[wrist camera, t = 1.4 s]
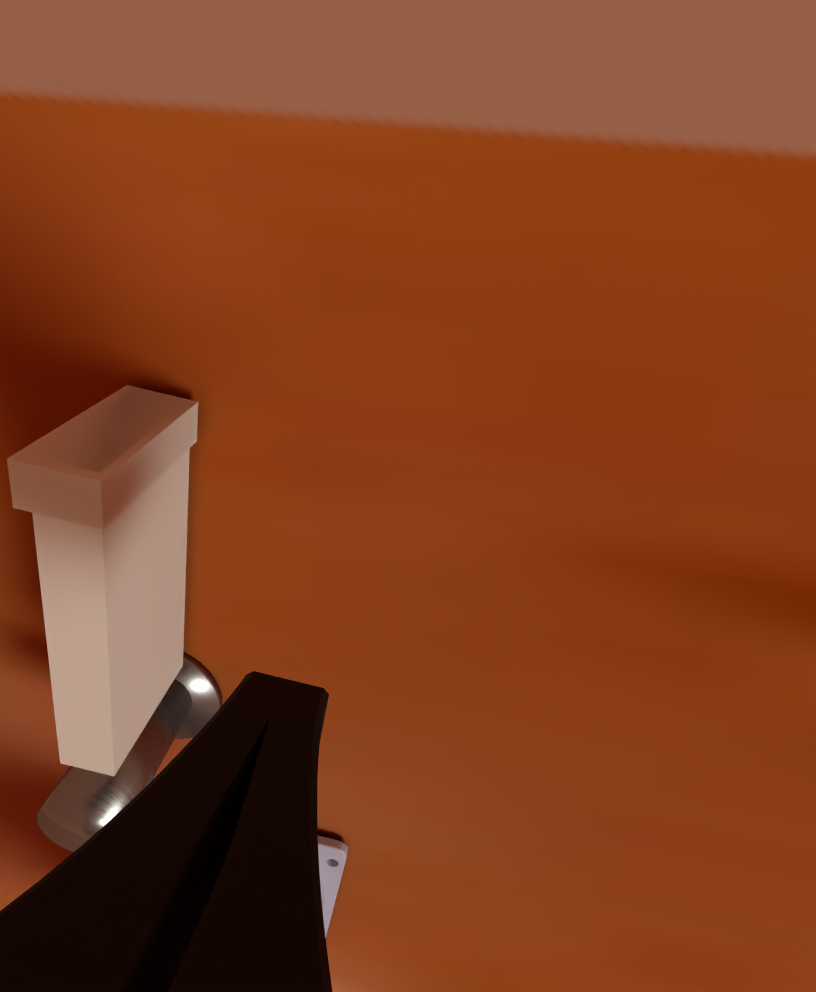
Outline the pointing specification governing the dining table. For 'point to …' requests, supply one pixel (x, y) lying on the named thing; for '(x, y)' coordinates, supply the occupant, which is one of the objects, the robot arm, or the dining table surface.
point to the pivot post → (130, 761)
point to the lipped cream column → (110, 564)
